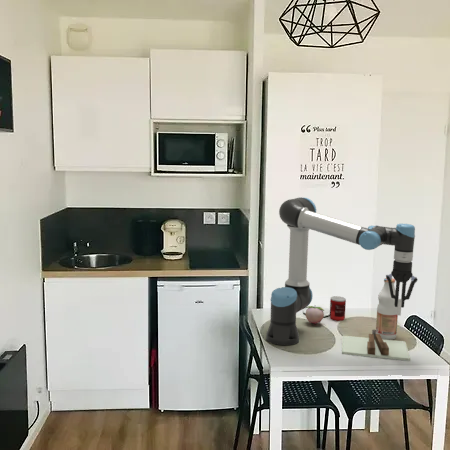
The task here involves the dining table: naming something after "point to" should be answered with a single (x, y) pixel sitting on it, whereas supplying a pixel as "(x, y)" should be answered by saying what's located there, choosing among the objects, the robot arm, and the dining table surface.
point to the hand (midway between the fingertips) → (398, 314)
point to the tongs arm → (381, 345)
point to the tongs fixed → (371, 343)
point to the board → (360, 348)
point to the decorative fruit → (314, 314)
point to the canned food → (337, 308)
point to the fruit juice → (386, 313)
